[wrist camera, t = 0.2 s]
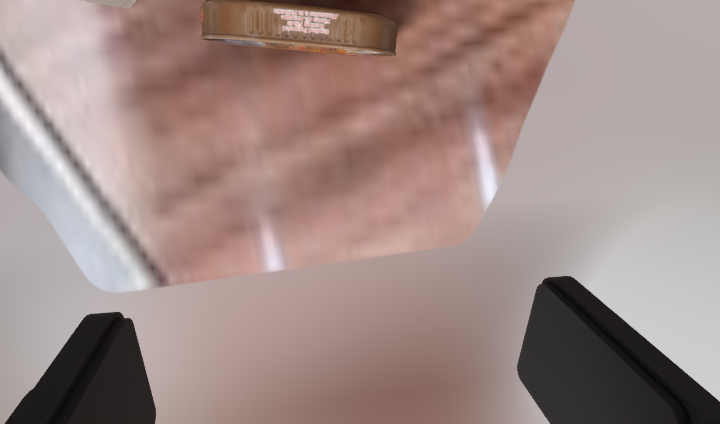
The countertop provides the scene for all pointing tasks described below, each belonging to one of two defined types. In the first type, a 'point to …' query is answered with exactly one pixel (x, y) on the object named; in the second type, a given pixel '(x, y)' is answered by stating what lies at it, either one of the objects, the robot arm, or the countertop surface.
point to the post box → (114, 3)
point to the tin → (298, 27)
